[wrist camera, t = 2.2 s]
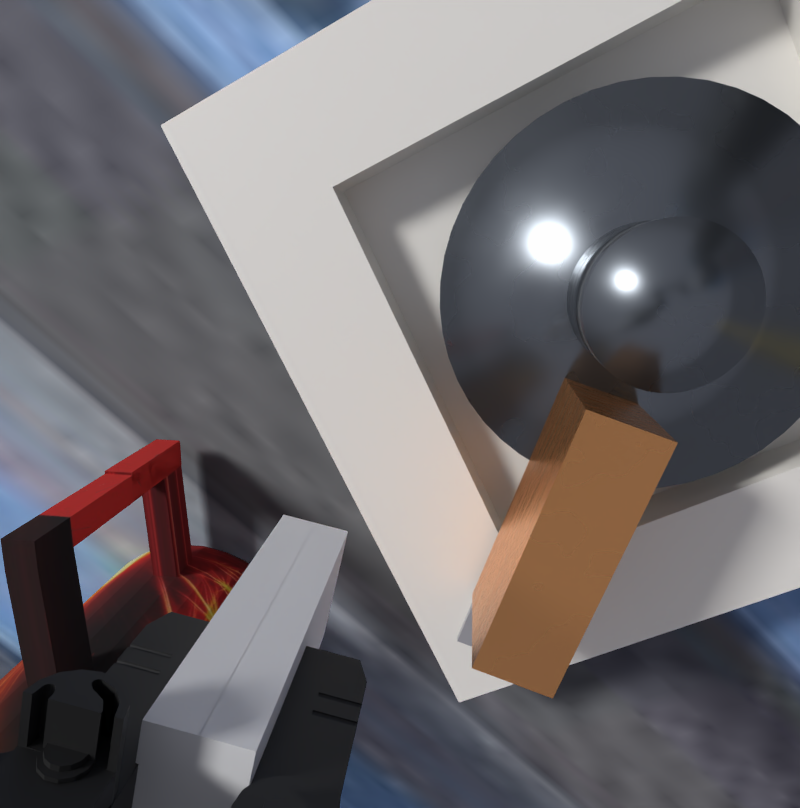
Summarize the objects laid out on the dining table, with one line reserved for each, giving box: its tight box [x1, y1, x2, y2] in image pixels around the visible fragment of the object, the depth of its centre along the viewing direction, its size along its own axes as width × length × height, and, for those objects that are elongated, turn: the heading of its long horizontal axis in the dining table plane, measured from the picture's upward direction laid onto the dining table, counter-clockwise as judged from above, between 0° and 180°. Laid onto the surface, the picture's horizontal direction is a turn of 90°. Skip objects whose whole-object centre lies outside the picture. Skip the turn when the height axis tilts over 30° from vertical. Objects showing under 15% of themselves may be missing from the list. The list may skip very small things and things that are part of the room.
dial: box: [440, 77, 800, 698], centre depth 19 cm, size 17×12×6 cm
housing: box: [161, 0, 800, 702], centre depth 19 cm, size 22×22×9 cm
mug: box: [0, 439, 249, 753], centre depth 23 cm, size 10×14×12 cm
